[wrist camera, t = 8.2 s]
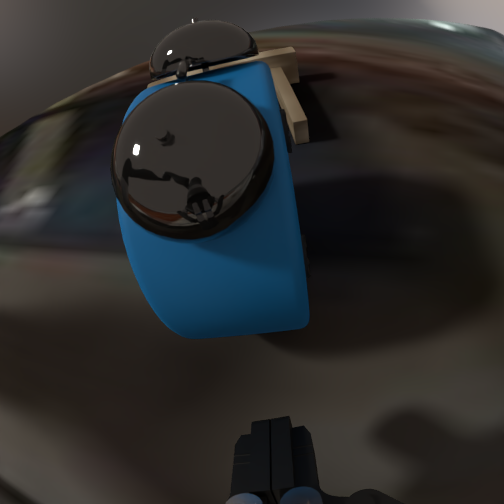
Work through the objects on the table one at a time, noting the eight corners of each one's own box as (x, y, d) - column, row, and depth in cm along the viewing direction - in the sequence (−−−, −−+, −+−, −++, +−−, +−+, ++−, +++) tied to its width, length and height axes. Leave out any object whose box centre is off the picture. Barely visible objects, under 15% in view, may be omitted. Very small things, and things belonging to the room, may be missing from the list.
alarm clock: (214, 194, 25) (139, 22, 13) (291, 182, 25) (257, -8, 12) (214, 362, 19) (28, 231, 6) (316, 352, 18) (310, 172, 5)
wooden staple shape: (153, 181, 28) (134, 150, 24) (160, 110, 34) (148, 84, 30) (328, 138, 26) (327, 101, 23) (296, 76, 32) (291, 46, 29)
